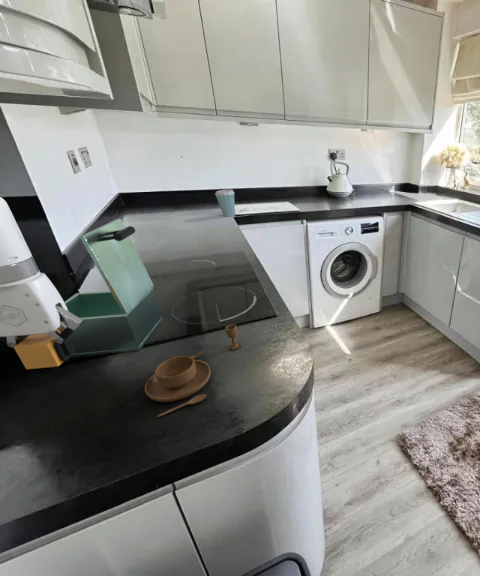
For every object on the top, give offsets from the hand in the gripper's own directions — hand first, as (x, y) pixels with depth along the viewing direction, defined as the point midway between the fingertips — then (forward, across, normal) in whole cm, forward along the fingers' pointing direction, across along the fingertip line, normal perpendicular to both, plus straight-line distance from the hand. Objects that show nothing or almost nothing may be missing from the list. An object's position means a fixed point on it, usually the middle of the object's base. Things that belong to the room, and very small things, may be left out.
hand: (50, 357), depth 62 cm
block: (0, 0, 0) cm, 0 cm away
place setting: (+9, +25, 0) cm, 26 cm away
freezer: (+9, -1, +20) cm, 22 cm away
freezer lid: (-11, +6, +20) cm, 23 cm away
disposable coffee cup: (+10, 0, +154) cm, 154 cm away
